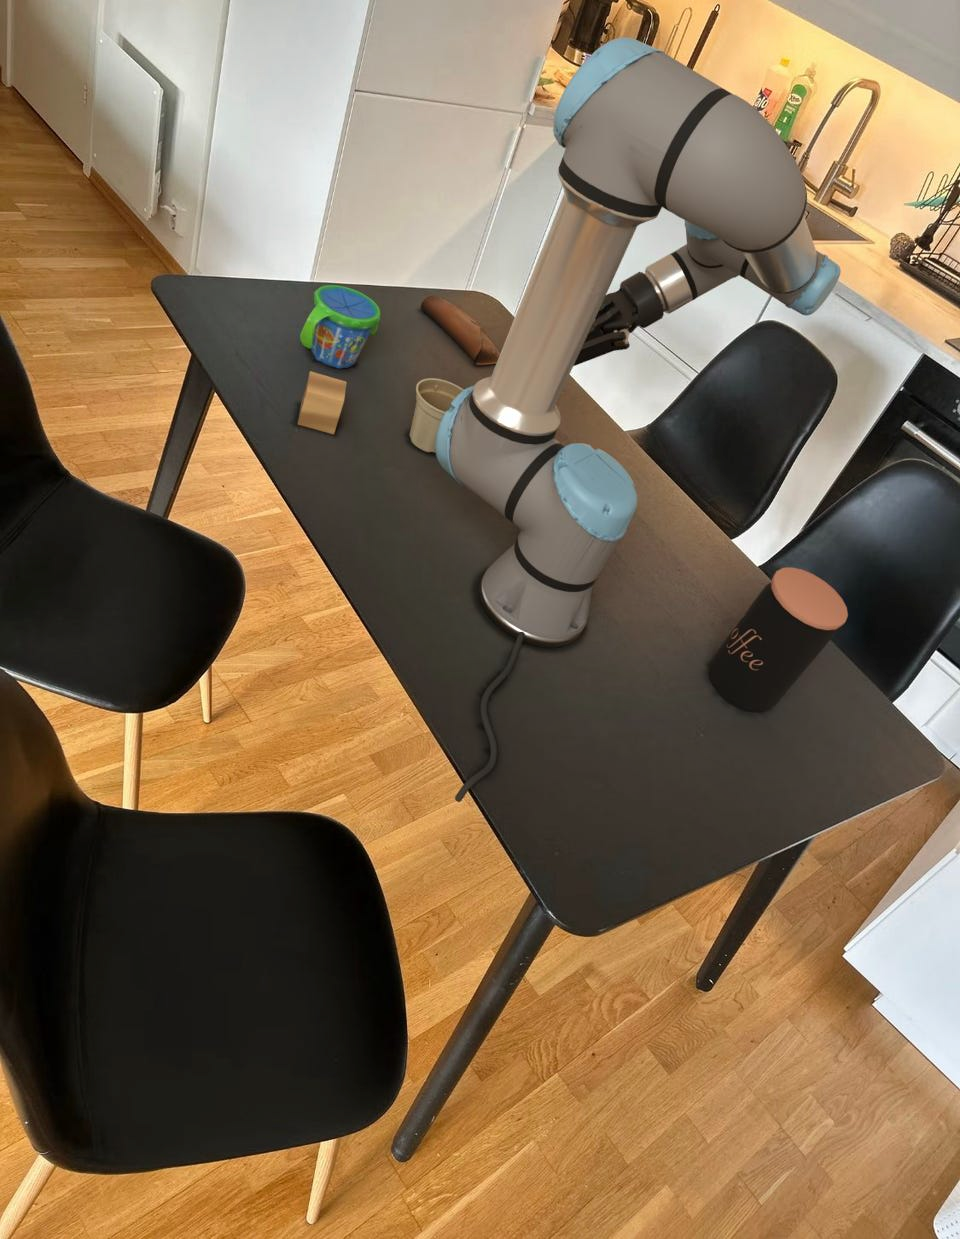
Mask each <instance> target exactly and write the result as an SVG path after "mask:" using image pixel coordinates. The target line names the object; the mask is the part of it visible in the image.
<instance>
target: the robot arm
mask: <svg viewBox="0 0 960 1239" xmlns="http://www.w3.org/2000/svg"><path fill="white" fill-rule="evenodd" d="M552 122H553V128H552V133H553V136H554V138H555V140H556V141H557V143H558V145H559V146H561V147H562V148H564V152H563V156H562V157H561V160H560V162H559V165H558V169H557V171H556V172H557V176H558V178H559V181H560V183H561V186H562V189H563V194H562V197H561V200H560V202H559V205H558V207H557V210H556V213H555V215H554V218H553V220H552V223H551V225H550V228H549V230H548V233H547V235H546V238H545V240H544V243H543V245H542V248H541V251H540V252H539V255H538V258H537V260H536V263H535V266H534V268H533V270H532V273H531V274H530V278H529V280H528V283H527V286H526V288H525V291H524V293H523V295H522V299H521V301H520V304H519V305H518V308H517V310H516V313H515V315H514V318H513V320H512V323H511V326H510V329H509V331H508V333H507V336H506V338H505V341H504V343H503V346H502V349H501V350H500V352H499V353H500V356H499V358H498V361H497V364H495V365H494V369H493V370H492V373H491V376H487V377H484V378H482V379H480V380H478V381H477V382H476V383H475V384H474V385H471V386H468V387H467V388H465V389H463V391H462V392H461V393H460V394H458V395H457V397H456V398H455V399H454V400H453V401H452V403H451V407H450V409H449V410H448V411H446V412H445V414H444V415H443V418H442V420H441V422H440V425H439V428H438V431H437V435H436V442H435V451H436V453H435V455H436V456H435V457H436V459H437V462H438V464H439V465H440V467H441V468H442V469H443V470H444V471H446V472H447V473H448V474H449V475H450V476H452V477H453V479H454V480H455V481H456V482H457V484H459V485H460V486H462V487H464V488H466V489H468V490H469V491H471V493H473V494H474V495H476V496H477V497H478V498H480V499H481V501H484V502H485V503H486V504H487V505H489V506H490V507H491V508H493V509H494V510H495V511H497V512H498V513H499V514H500V515H502V516H503V517H504V518H505V519H507V520H508V521H509V522H511V524H513V525H515V526H516V528H518V529H520V530H519V532H518V535H517V538H516V540H515V541H514V543H513V545H511V546H510V547H509V548H508V549H507V550H505V552H503V553H502V554H501V555H500V556H499V557H498V558H497V559H496V560H495V561H494V562H492V563H491V564H490V565H489V567H487V569H486V570H485V572H484V574H483V575H482V577H481V580H480V582H479V584H478V598H479V602H480V604H481V607H482V609H483V611H484V612H485V614H486V615H487V616H488V618H489V619H490V620H491V621H492V622H493V623H494V624H495V625H496V626H497V627H498V628H499V629H500V630H502V631H503V632H504V633H506V634H508V635H509V636H511V637H513V638H514V639H516V640H515V642H514V645H513V647H512V650H511V652H510V656H509V658H508V660H507V663H506V665H505V667H504V668H503V670H502V671H501V672H500V673H499V675H497V677H496V678H495V679H494V680H492V681H491V683H490V684H488V686H487V687H486V689H485V690H484V692H483V694H482V696H481V699H480V705H479V707H480V708H479V712H480V713H479V714H480V719H481V722H482V726H483V729H484V732H485V734H486V737H487V740H488V745H489V759H488V761H487V763H486V764H485V766H484V767H483V768H482V769H480V770H479V771H478V772H476V773H474V774H473V775H472V776H470V777H469V778H468V779H467V780H466V781H465V783H463V785H462V786H461V787H460V788H459V790H458V792H457V793H456V795H455V797H454V800H455V802H457V803H460V802H462V801H463V799H464V798H465V797H466V795H467V793H468V792H469V790H470V789H471V788H472V787H473V786H474V785H475V784H476V783H477V782H479V781H480V780H481V779H483V778H484V777H486V776H487V775H489V774H490V773H491V771H493V769H494V767H495V765H496V763H497V759H498V745H497V739H496V736H495V733H494V730H493V728H492V725H491V722H490V719H489V715H488V703H489V699H490V697H491V695H492V694H493V692H494V691H495V689H496V688H497V687H498V686H499V685H500V684H501V683H502V682H503V681H504V680H505V679H506V678H507V677H508V676H509V674H510V672H511V671H512V669H513V667H514V665H515V663H516V660H517V659H518V658H517V657H518V655H519V652H520V649H521V647H522V644H523V643H526V644H528V645H532V646H535V647H539V648H548V649H551V648H554V649H555V648H561V647H565V646H568V645H570V644H572V643H574V642H575V641H576V640H577V639H578V638H579V637H580V635H581V634H582V632H583V630H584V628H585V627H586V625H587V622H588V619H589V615H590V614H589V613H590V606H591V601H592V594H593V593H592V592H593V587H594V586H595V583H596V581H597V579H598V578H599V576H600V574H601V573H602V571H603V569H604V568H605V566H606V564H607V563H608V561H609V559H610V557H611V556H612V555H613V552H614V551H615V549H616V548H617V546H618V544H619V542H620V541H621V539H622V538H623V537H624V536H625V535H626V533H627V530H628V529H629V527H628V526H629V525H630V522H631V520H632V518H633V516H634V514H635V512H636V511H637V507H638V492H637V491H636V485H635V483H634V480H633V479H632V477H631V475H630V474H629V472H628V471H627V469H626V468H625V467H624V466H623V465H622V464H621V463H620V462H619V461H618V460H617V459H615V458H614V457H613V456H611V455H610V454H609V453H607V452H605V451H604V450H602V449H600V448H593V447H592V445H590V444H587V443H582V442H575V443H573V442H572V443H570V444H567V445H563V444H562V443H561V442H559V441H558V440H557V439H555V436H556V435H557V432H558V429H559V427H560V425H561V422H562V421H561V420H562V415H561V412H560V410H559V408H558V407H557V403H558V400H559V398H560V396H561V394H562V392H563V390H564V388H565V386H566V383H567V381H568V378H569V377H570V374H571V372H572V370H573V367H576V366H578V365H581V364H583V363H586V362H588V361H591V360H594V359H596V358H600V357H602V356H604V355H607V354H609V353H612V352H614V351H616V352H617V351H623V350H628V349H629V348H630V347H631V346H630V345H631V344H630V343H629V338H630V334H631V333H633V332H634V331H635V330H636V329H637V328H638V327H639V328H641V329H646V328H648V327H650V326H651V325H653V324H655V323H656V322H658V321H660V320H662V319H663V317H664V316H665V314H667V315H668V314H669V315H670V314H672V313H674V312H675V311H677V310H679V309H680V308H682V307H684V306H686V305H687V304H689V303H690V302H692V301H693V302H694V301H695V300H697V299H698V298H700V297H701V296H703V295H705V294H707V293H708V292H710V291H712V290H714V289H715V288H717V287H719V286H721V285H723V284H724V283H726V282H728V281H730V280H732V279H735V278H737V277H741V278H743V279H744V280H747V281H748V282H749V283H751V284H753V285H754V286H756V287H757V288H758V289H760V290H762V291H763V292H765V293H767V294H768V295H770V296H771V297H772V298H774V299H775V300H777V301H778V302H780V303H781V304H783V305H784V306H785V307H786V308H788V309H790V310H791V309H792V310H793V311H795V312H797V313H799V314H800V315H802V316H810V315H813V314H814V313H815V312H817V311H818V310H819V308H820V307H822V305H823V304H824V303H825V302H826V300H827V299H828V298H829V296H830V294H831V293H832V291H833V290H834V289H835V287H836V285H837V283H838V281H839V280H840V279H839V278H840V276H841V267H840V265H839V264H838V263H836V262H835V261H833V260H832V259H831V258H829V256H828V255H827V254H825V253H824V254H823V253H822V252H820V251H818V250H817V249H816V247H815V244H814V240H813V237H812V235H811V232H810V229H809V226H808V223H807V220H806V216H805V214H806V210H807V205H808V192H807V187H806V183H805V179H804V177H803V174H802V172H801V168H800V167H799V165H798V163H797V161H796V159H795V157H794V155H793V153H791V151H790V149H789V148H788V146H787V144H786V143H785V141H784V140H783V138H782V137H781V136H780V134H779V133H778V132H777V130H776V129H775V128H774V127H773V125H772V124H771V123H770V122H769V121H768V120H767V119H766V117H765V116H764V115H763V114H762V113H761V112H760V111H759V110H758V109H757V108H755V107H754V106H753V105H752V104H751V103H750V102H748V101H747V100H745V99H743V98H742V97H740V96H738V95H737V94H734V93H731V92H730V91H729V90H727V89H725V88H723V87H722V86H720V85H718V84H716V82H713V81H711V80H710V79H708V78H707V77H705V76H703V75H702V74H700V73H698V72H697V71H695V70H693V69H692V68H690V67H688V66H687V65H686V64H683V63H682V62H680V61H679V60H677V59H675V58H673V57H672V56H671V55H668V54H667V53H666V52H665V51H664V50H662V49H658V48H656V47H653V46H651V45H649V44H647V43H644V42H642V41H640V40H638V39H635V38H633V37H627V36H623V37H616V38H613V39H611V40H609V41H607V42H606V43H604V44H602V45H601V46H599V47H598V48H597V49H596V50H594V52H593V53H592V54H591V55H590V56H589V57H587V58H586V59H585V60H584V62H582V63H581V65H580V66H579V67H578V69H577V70H576V71H575V73H574V74H573V75H572V77H571V78H570V80H569V82H568V83H567V85H566V87H565V89H564V90H563V93H562V94H561V95H560V98H559V101H558V103H557V106H556V109H555V111H554V115H553V120H552ZM662 208H663V209H664V210H666V211H668V212H669V213H672V214H673V215H675V216H677V218H680V219H682V220H684V227H685V238H686V243H685V244H684V245H682V246H681V247H679V248H678V249H676V250H675V251H672V252H670V253H668V254H666V255H664V257H661V258H660V259H658V260H656V261H655V262H653V263H651V264H649V265H647V266H645V270H644V271H643V272H642V271H638V272H636V273H634V274H632V275H631V276H629V277H627V278H626V279H624V280H622V281H621V282H620V284H619V288H618V290H616V291H614V292H610V293H608V291H609V289H610V287H611V285H612V283H613V281H614V279H615V277H616V275H617V272H618V269H619V268H620V265H621V264H622V261H623V258H624V256H625V255H626V253H627V250H628V248H629V246H630V244H631V241H632V239H633V237H634V235H635V232H636V230H637V228H638V226H640V225H642V224H645V223H647V222H650V221H653V220H655V219H657V218H658V216H659V214H660V212H661V210H662ZM468 789H469V790H468Z"/></svg>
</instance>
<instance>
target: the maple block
mask: <svg viewBox="0 0 960 1239" xmlns="http://www.w3.org/2000/svg"><path fill="white" fill-rule="evenodd" d="M346 388H347V381H345V380H342V379H339V378H335V377H332V376H329V375H325V374H322V373H318V372H315V371H311V370H310V371H309V374H308V377H307V381H306V384H305V388H304V392H303V395H302V399H301V403H300V407H299V414H298V418H297V425H298V426H301V427H305V428H309V429H313V430H315V431H320V432H324V433H327V434H330V435H335V433H336V429H337V426H338V423H339V420H340V416H341V413H342V410H343V408H344V403H345V397H346V390H347V389H346Z"/></svg>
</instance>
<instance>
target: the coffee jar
mask: <svg viewBox="0 0 960 1239" xmlns="http://www.w3.org/2000/svg"><path fill="white" fill-rule="evenodd" d="M848 616H849V613H848V607H847V605H846V604H845V602H844V599H843V598H842V597H841V596H840V594H839V593H838V592H837V591H836V590H835V589H834V588H833V587H832V586H831V585H830V584H828V583H827V582H826V581H825V580H823V579H822V578H820V577H819V576H816V575H815V574H813V573H811V572H809V571H807V570H805V569H802V568H801V569H800V568H797V567H793V566H792V567H790V566H789V567H782V568H779V569H778V570H776V571H775V573H774V575H773V576H772V578H771V580H770V582H769V583H767V584H765V585H764V587H763V589H761V591H760V592H759V594H758V595H757V596H756V598H755V599H754V601H752V603H751V604H750V606H749V607H748V609H747V610H746V611H745V613H744V614H743V616H742V617H741V618H740V619H739V620H738V622H737V623H736V624H735V626H734V628H733V629H732V630H731V632H730V633H729V634H728V636H727V637H726V639H724V641H723V642H722V643H721V645H720V646H719V648H717V650H716V651H715V653H714V654H713V656H712V657H711V659H710V661H709V664H708V665H709V668H708V674H709V680H710V683H711V685H712V687H713V688H714V689H715V691H716V693H717V694H718V695H719V696H720V697H721V698H722V699H723V700H724V701H726V702H727V703H729V704H730V705H732V706H733V707H735V708H737V709H739V710H741V711H744V712H750V713H759V712H765V711H769V710H770V709H771V710H772V708H773V707H775V706H777V704H778V703H779V702H780V701H781V699H782V698H783V697H784V696H785V695H786V693H787V692H788V691H789V690H790V689H791V688H792V686H793V685H794V684H795V683H796V682H797V680H798V679H799V678H800V677H801V676H802V675H803V673H804V672H805V671H806V670H807V668H808V667H809V666H810V665H811V664H812V663H813V662H814V660H815V659H816V658H817V657H818V656H819V654H820V653H821V652H822V651H823V650H824V648H825V647H826V646H827V645H828V644H829V643H830V641H831V640H832V639H833V638H834V637H835V634H836V632H837V629H840V628H841V627H842V626H843V625H844V624H846V622H847V619H848Z"/></svg>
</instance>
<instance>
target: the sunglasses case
mask: <svg viewBox="0 0 960 1239" xmlns="http://www.w3.org/2000/svg"><path fill="white" fill-rule="evenodd" d="M420 309H421V310H422V311H423V312H424V313H425V314H426V315H427V316H429V317H430V319H432V320H434V322H435V323H437V324H438V325H439V326H441V328H442V329H443V330H444V331H445V332H446V333H447V334H448V335H449V336H450V337H451V338H452V339H454V341H455V342H456V343H457V344H458V345H459V346H460V347H461V348H462V349H463V350H464V352H465V353H466V354H467V355H469V357H470V358H471V359H472V360H473V361H474V363H475V365H476V366H478V367H479V366H495V365H496V364H497V361H498V358H499V356H500V353H501V352H500V351H499V350H498V348H497V347H496V345H494V343H493V342H492V341H491V339H489V337H488V336H487V335H486V334H485V333H484V331H482V327H481V326H480V325H479V324H478V323H477V322H476V321H475V320H474V319H473V318H472V317H471V316H470V315H468V314H467V313H466V312H464V311H463V310H462V309H461V308H459V307H457V305H454V304H453V303H451V302H449V301H448V300H445V299H443V298H441V297H439V296H436V295H429V296H427V297H426V298H424V299H423V301H422V302H421V305H420Z"/></svg>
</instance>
